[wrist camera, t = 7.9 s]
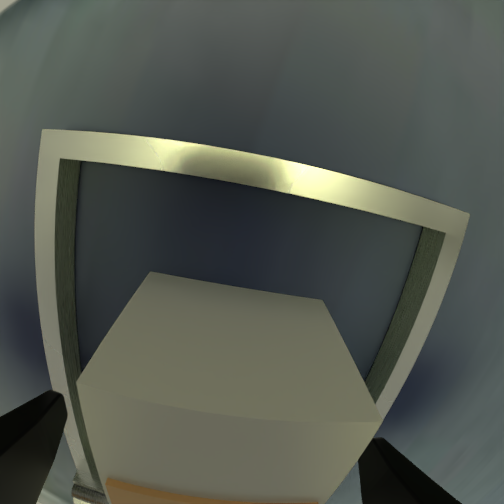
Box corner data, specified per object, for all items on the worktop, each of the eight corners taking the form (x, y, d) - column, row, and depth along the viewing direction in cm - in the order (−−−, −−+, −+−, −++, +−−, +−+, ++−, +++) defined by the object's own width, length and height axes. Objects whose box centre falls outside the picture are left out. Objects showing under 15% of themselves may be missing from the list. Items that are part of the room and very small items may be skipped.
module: (321, 298, 9) (386, 429, 4) (270, 447, 11) (280, 556, 6) (151, 269, 9) (71, 389, 4) (147, 429, 11) (119, 537, 6)
